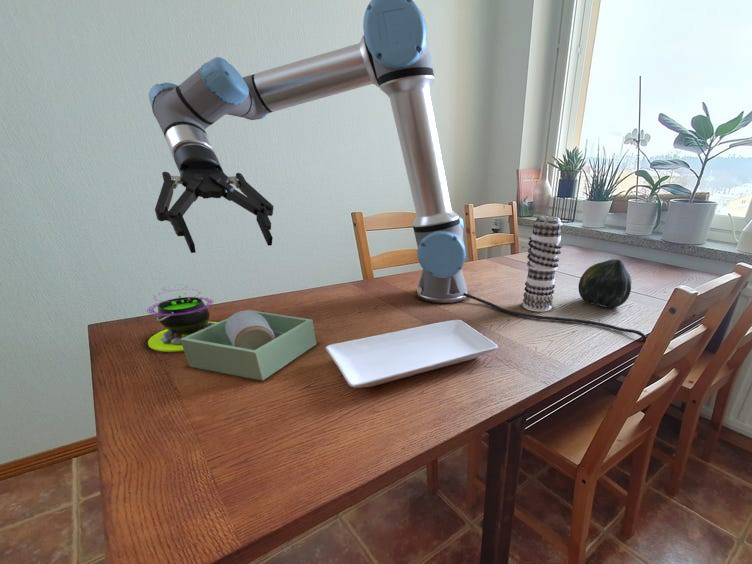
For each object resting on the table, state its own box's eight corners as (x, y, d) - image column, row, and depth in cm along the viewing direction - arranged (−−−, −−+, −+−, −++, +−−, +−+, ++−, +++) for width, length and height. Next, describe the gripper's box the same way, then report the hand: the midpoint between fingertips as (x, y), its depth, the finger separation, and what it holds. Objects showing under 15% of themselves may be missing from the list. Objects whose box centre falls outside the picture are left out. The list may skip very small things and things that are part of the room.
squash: (574, 276, 121) (589, 247, 107) (619, 280, 122) (640, 252, 107) (574, 315, 117) (589, 290, 102) (621, 319, 117) (643, 296, 103)
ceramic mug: (239, 365, 71) (229, 327, 67) (230, 348, 76) (220, 313, 72) (297, 351, 77) (291, 316, 73) (285, 337, 82) (279, 304, 79)
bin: (316, 344, 82) (312, 319, 79) (262, 380, 68) (255, 352, 65) (253, 333, 85) (247, 309, 82) (189, 366, 71) (179, 339, 68)
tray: (500, 360, 80) (501, 345, 78) (352, 402, 63) (350, 385, 62) (459, 331, 92) (459, 317, 90) (326, 360, 76) (323, 345, 74)
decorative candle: (514, 305, 110) (523, 215, 98) (535, 299, 116) (546, 213, 104) (538, 314, 104) (551, 220, 93) (558, 307, 110) (573, 218, 98)
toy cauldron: (167, 324, 86) (150, 277, 81) (240, 321, 90) (227, 276, 85) (132, 354, 74) (109, 301, 68) (218, 349, 77) (202, 298, 72)
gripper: (260, 171, 88) (295, 249, 85) (119, 169, 72) (158, 263, 70) (262, 146, 82) (300, 228, 79) (109, 137, 66) (151, 239, 64)
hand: (233, 245), depth 75 cm, fingers open, 13 cm apart
